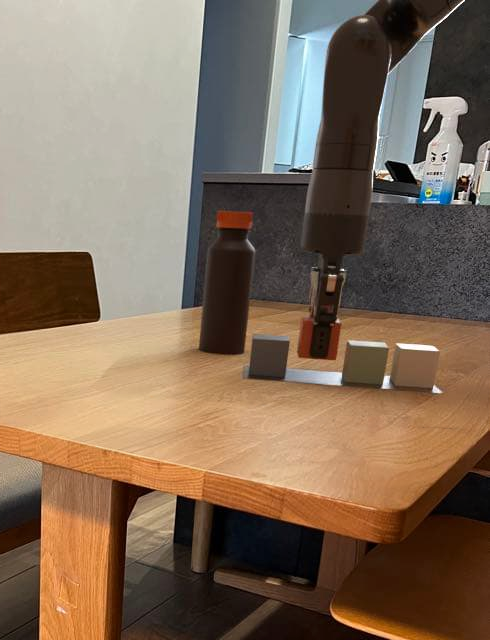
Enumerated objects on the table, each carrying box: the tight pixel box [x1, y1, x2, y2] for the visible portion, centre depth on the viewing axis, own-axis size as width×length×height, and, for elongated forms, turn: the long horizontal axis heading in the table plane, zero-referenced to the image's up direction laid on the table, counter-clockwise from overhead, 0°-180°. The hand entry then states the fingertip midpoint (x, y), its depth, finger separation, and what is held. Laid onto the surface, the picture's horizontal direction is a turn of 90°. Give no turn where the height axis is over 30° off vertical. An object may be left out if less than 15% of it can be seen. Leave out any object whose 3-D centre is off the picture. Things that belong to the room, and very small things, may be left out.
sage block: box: [342, 339, 390, 385], centre depth 109 cm, size 5×5×5 cm
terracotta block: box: [296, 316, 342, 361], centre depth 109 cm, size 5×5×5 cm
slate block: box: [248, 333, 291, 378], centre depth 110 cm, size 5×5×5 cm
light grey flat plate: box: [242, 365, 444, 395], centre depth 110 cm, size 24×10×1 cm, turn 79°
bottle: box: [198, 210, 256, 356], centre depth 125 cm, size 7×7×20 cm
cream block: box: [389, 342, 441, 389], centre depth 108 cm, size 5×5×5 cm
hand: (316, 353), depth 109 cm, fingers closed on terracotta block, 4 cm apart
